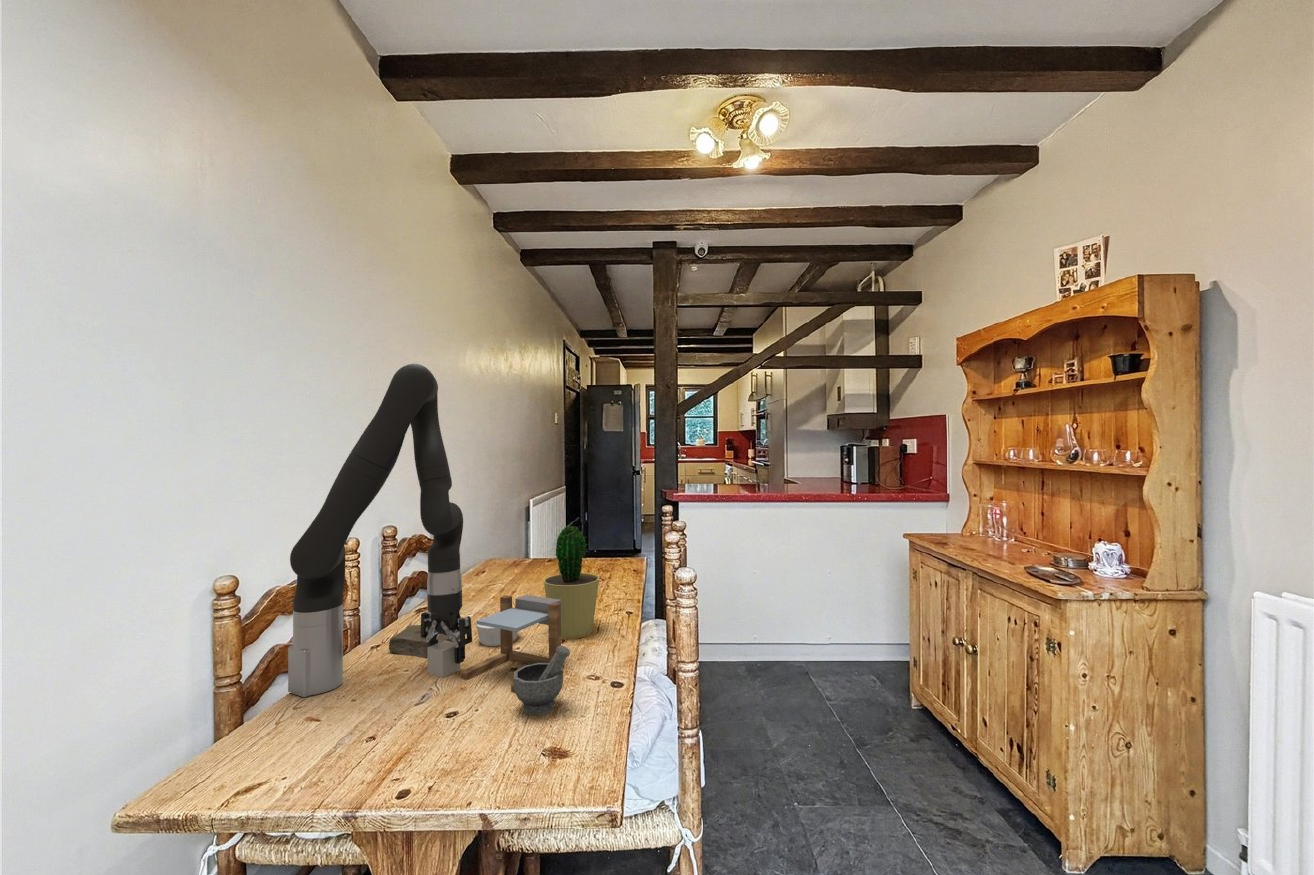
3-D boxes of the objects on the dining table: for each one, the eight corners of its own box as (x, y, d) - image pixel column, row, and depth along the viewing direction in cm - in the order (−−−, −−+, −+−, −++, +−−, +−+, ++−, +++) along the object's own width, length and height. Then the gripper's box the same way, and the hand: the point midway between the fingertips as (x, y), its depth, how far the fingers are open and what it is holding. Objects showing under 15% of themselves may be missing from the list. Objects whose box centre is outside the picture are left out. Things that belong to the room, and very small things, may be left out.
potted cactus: (576, 645, 139) (575, 529, 140) (532, 636, 147) (531, 526, 148) (610, 628, 152) (609, 522, 153) (568, 620, 160) (567, 519, 161)
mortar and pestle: (505, 719, 101) (505, 654, 101) (522, 696, 110) (521, 637, 110) (564, 720, 100) (564, 655, 100) (576, 697, 109) (575, 638, 110)
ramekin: (467, 645, 140) (467, 625, 141) (493, 632, 151) (493, 613, 151) (503, 650, 137) (503, 629, 137) (527, 636, 147) (527, 616, 148)
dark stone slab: (438, 660, 131) (437, 643, 132) (379, 660, 132) (379, 643, 132) (465, 636, 148) (465, 621, 148) (413, 637, 149) (413, 621, 149)
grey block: (442, 678, 120) (442, 650, 120) (427, 674, 123) (427, 647, 123) (460, 669, 125) (460, 643, 125) (445, 666, 127) (445, 640, 127)
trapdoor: (517, 641, 115) (517, 618, 115) (476, 633, 121) (476, 611, 121) (563, 621, 129) (563, 600, 129) (524, 614, 135) (524, 594, 135)
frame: (518, 693, 112) (517, 620, 112) (460, 678, 120) (460, 610, 120) (563, 667, 125) (562, 602, 125) (508, 655, 133) (508, 594, 133)
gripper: (410, 590, 124) (411, 661, 124) (453, 596, 118) (455, 671, 118) (436, 583, 131) (438, 649, 131) (479, 588, 125) (481, 658, 124)
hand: (446, 659), depth 124 cm, fingers open, 8 cm apart
